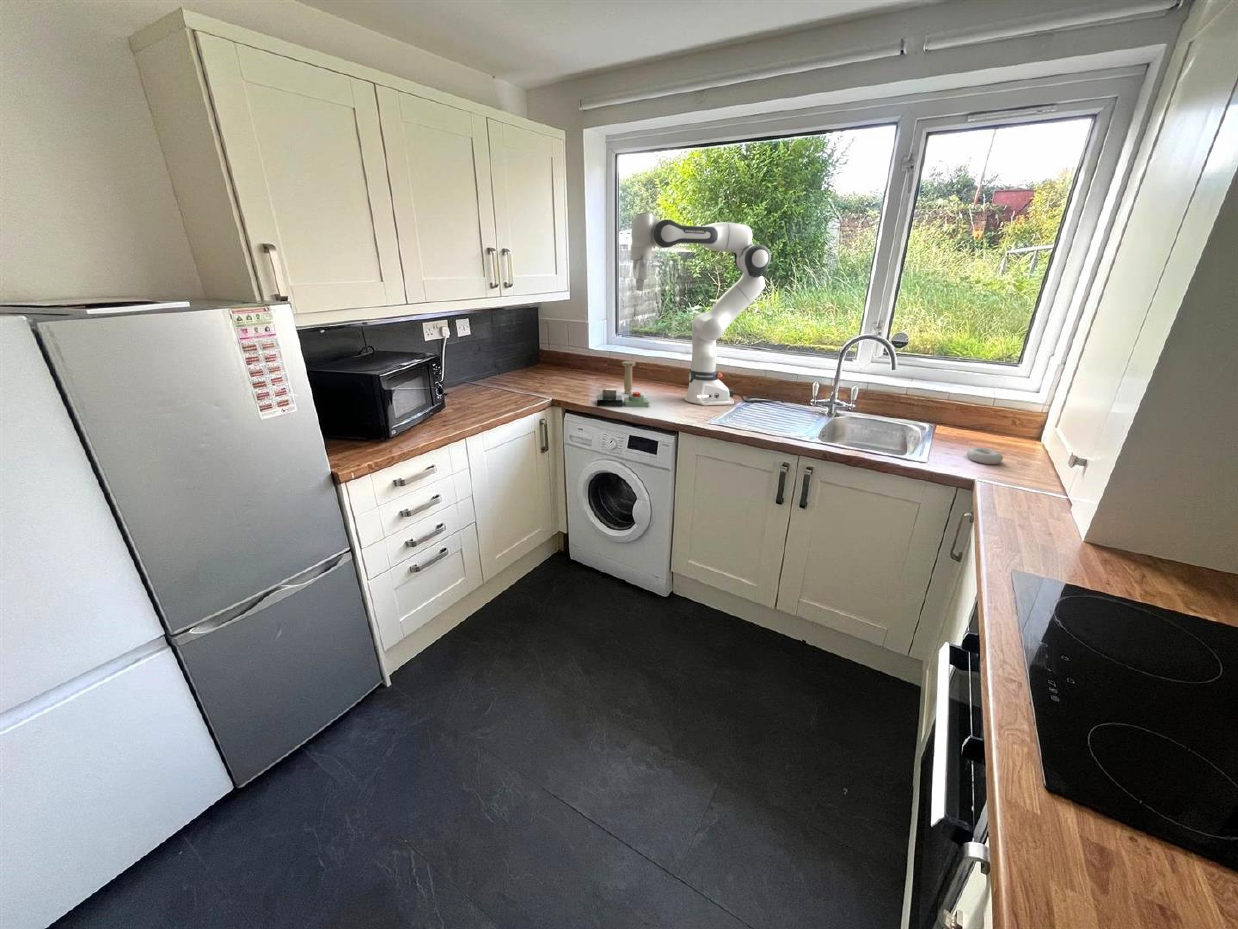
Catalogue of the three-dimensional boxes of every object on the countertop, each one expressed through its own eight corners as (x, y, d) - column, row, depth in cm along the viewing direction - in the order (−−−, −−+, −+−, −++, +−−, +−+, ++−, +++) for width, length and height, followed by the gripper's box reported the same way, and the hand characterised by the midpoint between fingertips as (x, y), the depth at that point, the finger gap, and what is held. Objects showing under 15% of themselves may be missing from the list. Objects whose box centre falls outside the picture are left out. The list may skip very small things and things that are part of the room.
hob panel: (620, 401, 226) (620, 394, 225) (622, 407, 216) (622, 400, 215) (596, 400, 225) (596, 394, 224) (597, 406, 216) (597, 399, 215)
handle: (635, 394, 240) (637, 362, 235) (623, 394, 238) (624, 363, 232) (631, 391, 244) (633, 361, 239) (619, 392, 242) (620, 361, 237)
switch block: (646, 402, 226) (646, 393, 224) (648, 406, 218) (648, 398, 217) (624, 402, 225) (624, 393, 224) (625, 406, 218) (625, 397, 216)
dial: (616, 396, 221) (616, 388, 219) (616, 397, 219) (616, 389, 218) (602, 396, 220) (602, 388, 219) (602, 397, 219) (602, 389, 217)
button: (640, 395, 222) (640, 391, 222) (640, 397, 219) (641, 393, 218) (631, 395, 222) (632, 391, 221) (632, 397, 219) (632, 393, 218)
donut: (987, 467, 162) (1008, 464, 165) (990, 457, 160) (1011, 454, 163) (958, 457, 170) (979, 454, 173) (961, 447, 169) (982, 444, 172)
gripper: (651, 255, 198) (649, 292, 203) (645, 256, 217) (644, 290, 222) (636, 254, 198) (634, 291, 203) (631, 255, 217) (630, 289, 222)
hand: (639, 290), depth 213 cm, fingers open, 8 cm apart
